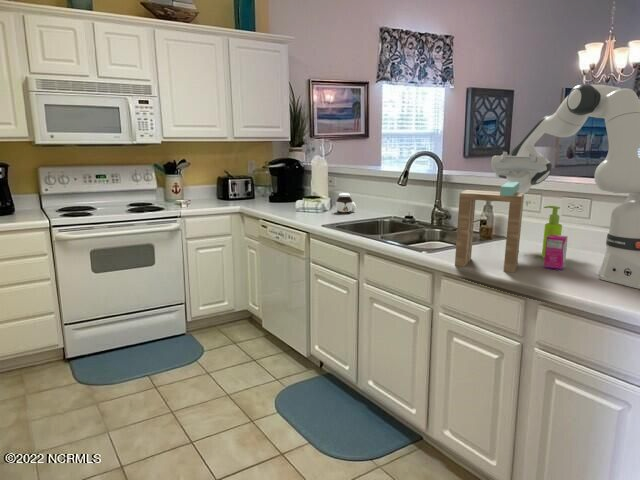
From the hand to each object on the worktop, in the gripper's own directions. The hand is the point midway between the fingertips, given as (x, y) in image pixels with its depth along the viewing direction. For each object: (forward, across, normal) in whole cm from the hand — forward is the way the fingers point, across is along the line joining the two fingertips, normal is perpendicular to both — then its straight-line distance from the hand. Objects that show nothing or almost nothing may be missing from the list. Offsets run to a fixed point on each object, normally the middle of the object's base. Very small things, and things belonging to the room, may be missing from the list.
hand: (517, 153), depth 188 cm
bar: (+9, 0, -21) cm, 23 cm away
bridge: (0, +6, -46) cm, 46 cm away
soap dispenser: (-20, -14, -34) cm, 42 cm away
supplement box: (-6, -16, -43) cm, 46 cm away
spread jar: (-81, +102, +3) cm, 130 cm away
